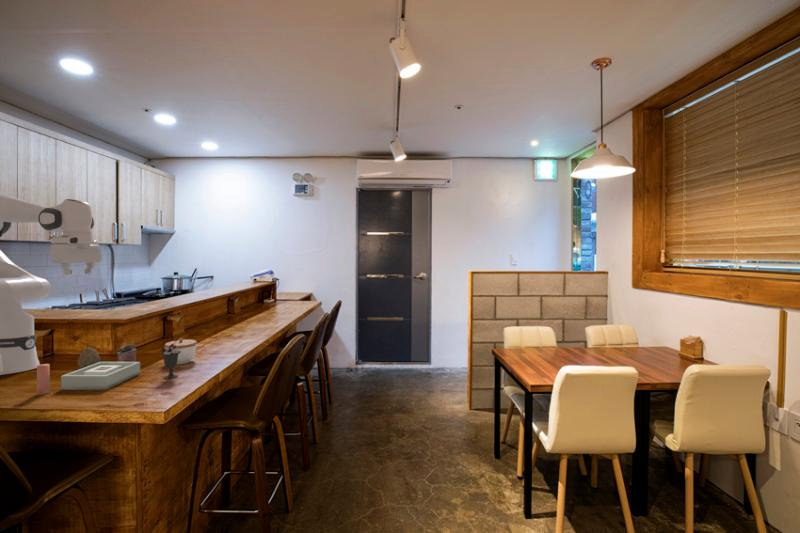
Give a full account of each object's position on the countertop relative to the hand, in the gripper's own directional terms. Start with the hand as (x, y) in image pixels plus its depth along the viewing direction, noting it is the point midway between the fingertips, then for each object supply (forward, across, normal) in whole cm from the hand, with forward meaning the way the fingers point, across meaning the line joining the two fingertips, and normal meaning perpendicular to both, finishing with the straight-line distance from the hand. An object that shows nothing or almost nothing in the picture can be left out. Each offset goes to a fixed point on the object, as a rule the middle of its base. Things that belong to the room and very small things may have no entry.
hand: (78, 274), depth 146 cm
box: (+41, +7, +14) cm, 44 cm away
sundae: (+42, +2, +37) cm, 56 cm away
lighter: (+42, -10, +12) cm, 44 cm away
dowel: (+41, +19, +3) cm, 46 cm away
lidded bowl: (+42, -19, +30) cm, 55 cm away
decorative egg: (+41, -6, -2) cm, 42 cm away
